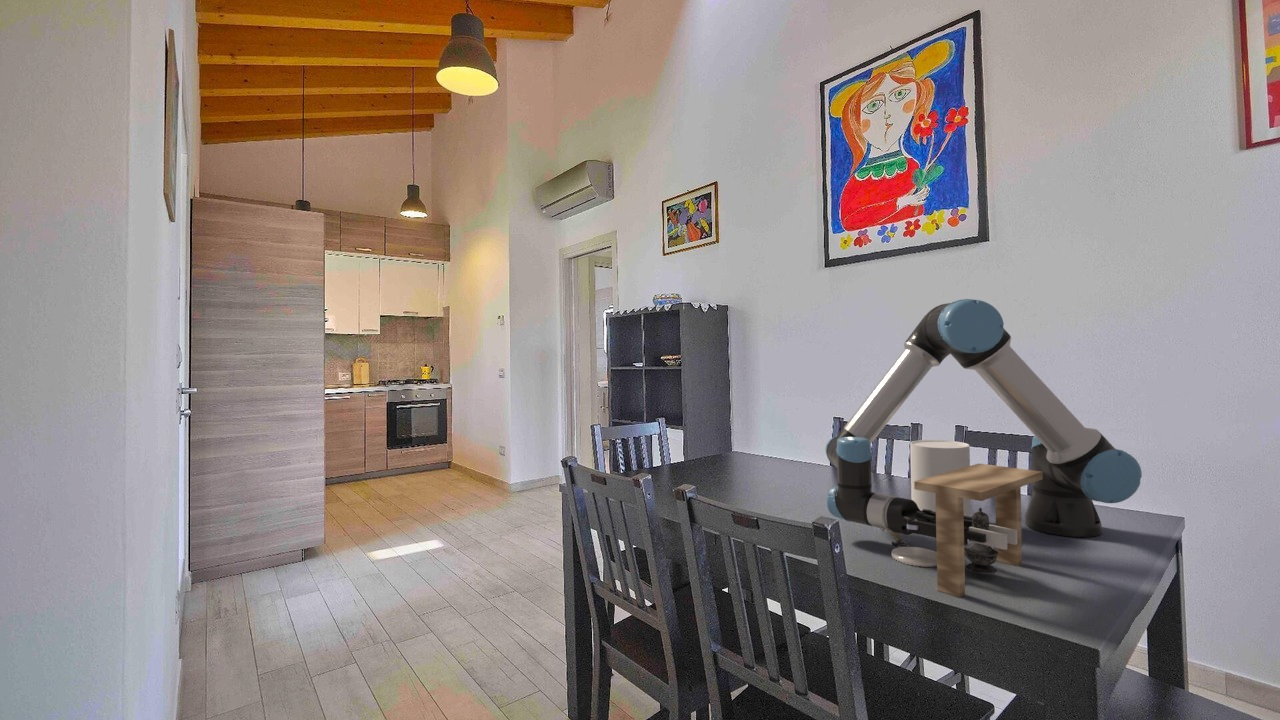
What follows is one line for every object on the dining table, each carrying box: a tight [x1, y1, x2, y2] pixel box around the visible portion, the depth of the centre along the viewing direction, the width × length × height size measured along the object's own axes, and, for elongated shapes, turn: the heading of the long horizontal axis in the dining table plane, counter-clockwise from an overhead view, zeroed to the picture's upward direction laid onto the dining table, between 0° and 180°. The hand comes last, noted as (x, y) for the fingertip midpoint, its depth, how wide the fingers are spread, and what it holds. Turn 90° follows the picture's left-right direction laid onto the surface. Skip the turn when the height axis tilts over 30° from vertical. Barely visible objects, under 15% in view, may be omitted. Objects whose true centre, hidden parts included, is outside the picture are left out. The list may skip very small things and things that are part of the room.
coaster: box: [890, 546, 937, 568], centre depth 125 cm, size 10×10×1 cm
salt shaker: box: [964, 507, 999, 575], centre depth 114 cm, size 6×6×12 cm
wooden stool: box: [914, 463, 1043, 598], centre depth 114 cm, size 12×26×20 cm, turn 126°
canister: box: [909, 439, 972, 517], centre depth 150 cm, size 14×14×20 cm
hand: (1011, 539), depth 110 cm, fingers closed on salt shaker, 4 cm apart
